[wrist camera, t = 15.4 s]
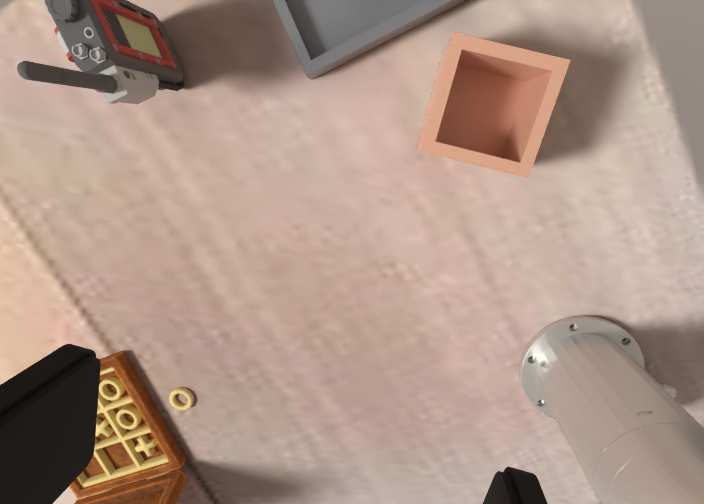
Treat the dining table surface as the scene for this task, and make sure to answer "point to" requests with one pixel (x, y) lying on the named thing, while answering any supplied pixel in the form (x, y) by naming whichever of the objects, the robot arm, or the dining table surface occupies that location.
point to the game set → (131, 443)
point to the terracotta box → (491, 104)
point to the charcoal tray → (349, 27)
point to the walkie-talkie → (110, 50)
